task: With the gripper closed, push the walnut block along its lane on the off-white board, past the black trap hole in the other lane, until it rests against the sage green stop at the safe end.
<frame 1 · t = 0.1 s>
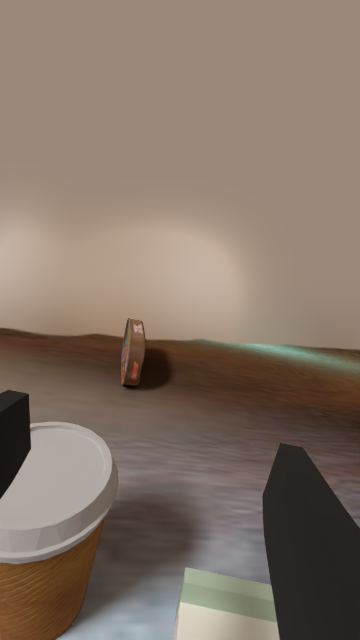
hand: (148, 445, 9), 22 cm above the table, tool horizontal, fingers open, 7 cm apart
tin: (130, 372, 58), on the table
disposable coffee cup: (40, 597, 24), on the table
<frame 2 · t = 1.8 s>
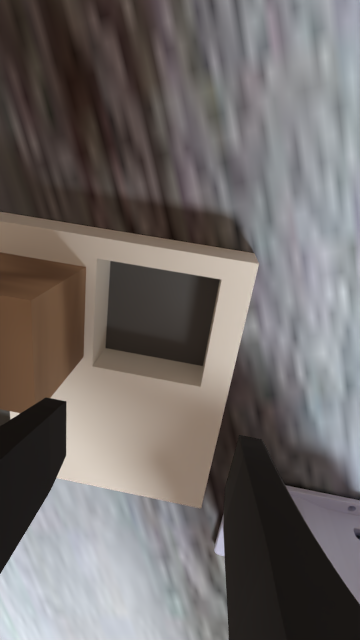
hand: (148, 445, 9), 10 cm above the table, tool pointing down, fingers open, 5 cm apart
trap board: (52, 349, 21), on the table
walnut block: (38, 306, 17), point 2 cm above the table, touching trap board
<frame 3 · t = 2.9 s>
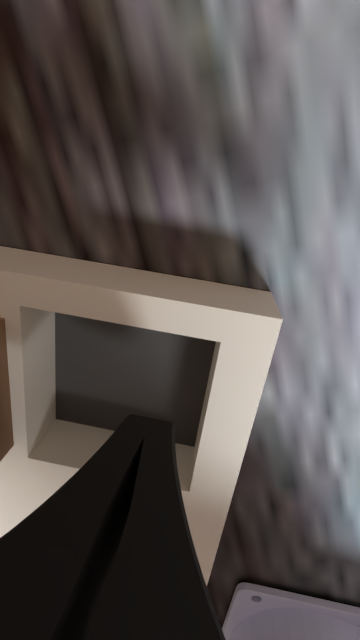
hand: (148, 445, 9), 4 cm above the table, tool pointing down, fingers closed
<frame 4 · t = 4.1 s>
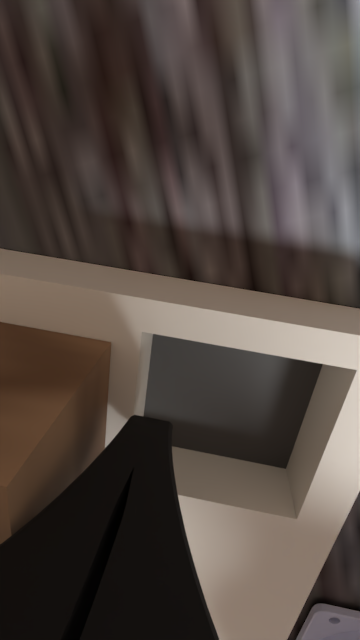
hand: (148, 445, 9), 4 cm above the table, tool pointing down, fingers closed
trap board: (62, 437, 15), on the table
walnut block: (32, 396, 11), point 3 cm above the table, touching gripper
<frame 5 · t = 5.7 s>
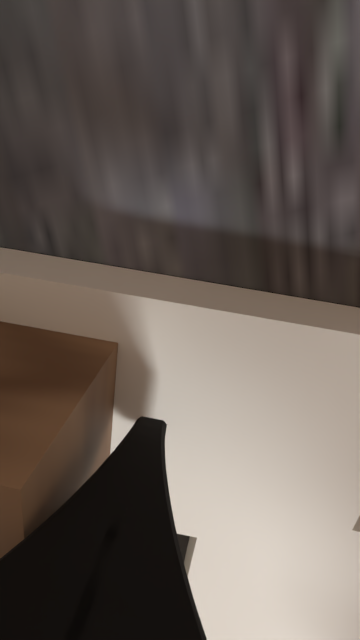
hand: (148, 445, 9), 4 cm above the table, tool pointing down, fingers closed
trap board: (239, 472, 14), on the table
walnut block: (37, 397, 11), point 3 cm above the table, touching gripper, trap board
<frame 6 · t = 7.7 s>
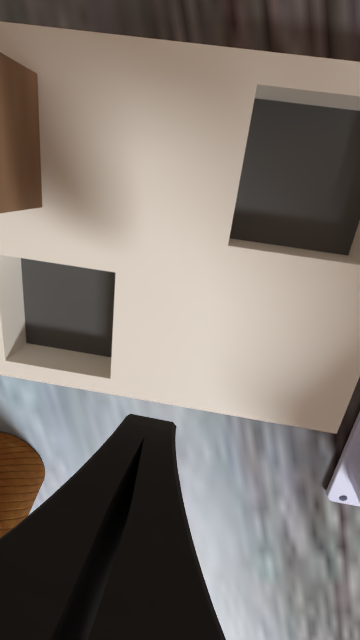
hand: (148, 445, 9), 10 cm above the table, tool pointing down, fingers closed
trap board: (157, 246, 18), on the table
disposable coffee cup: (7, 461, 25), on the table
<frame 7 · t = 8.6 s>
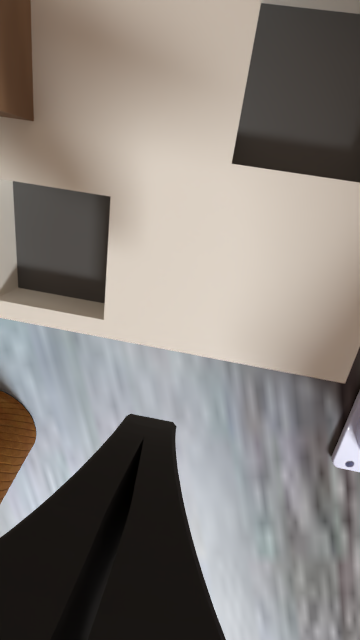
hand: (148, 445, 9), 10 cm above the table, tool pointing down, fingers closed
trap board: (157, 178, 17), on the table
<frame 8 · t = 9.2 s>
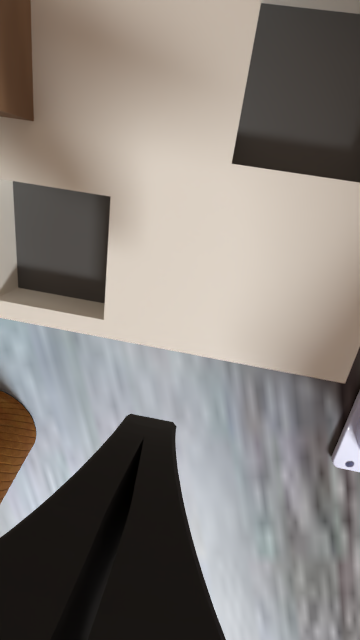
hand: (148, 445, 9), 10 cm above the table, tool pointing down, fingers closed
trap board: (157, 178, 17), on the table
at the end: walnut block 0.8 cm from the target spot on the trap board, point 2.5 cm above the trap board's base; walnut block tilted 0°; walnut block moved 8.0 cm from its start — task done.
